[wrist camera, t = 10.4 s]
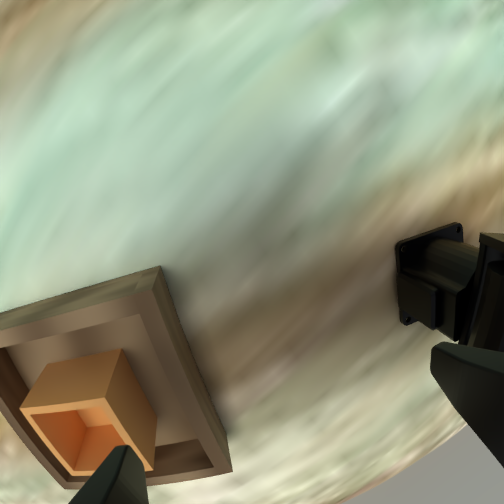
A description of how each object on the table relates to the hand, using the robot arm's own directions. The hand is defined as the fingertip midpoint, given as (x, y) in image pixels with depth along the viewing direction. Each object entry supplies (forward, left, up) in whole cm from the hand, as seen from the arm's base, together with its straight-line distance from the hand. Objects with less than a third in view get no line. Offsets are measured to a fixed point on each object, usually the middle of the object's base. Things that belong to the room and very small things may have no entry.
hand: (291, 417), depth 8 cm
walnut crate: (+11, +5, -12) cm, 17 cm away
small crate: (+11, +5, -11) cm, 16 cm away
